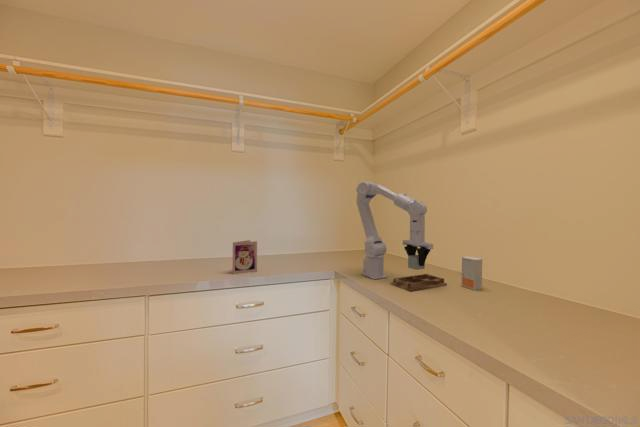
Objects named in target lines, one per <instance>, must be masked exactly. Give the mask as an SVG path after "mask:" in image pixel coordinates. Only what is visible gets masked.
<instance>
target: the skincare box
mask: <svg viewBox="0 0 640 427" xmlns="http://www.w3.org/2000/svg"><path fill="white" fill-rule="evenodd" d="M460 284H461V287H464V288H467V289H470V290H472V291H478V290H482V289H483V288H482V287H483V286H482V285H483V258H479V257H474V256H469V255H468V256H462V257H461V283H460Z"/></svg>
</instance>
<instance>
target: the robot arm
mask: <svg viewBox="0 0 640 427" xmlns="http://www.w3.org/2000/svg"><path fill="white" fill-rule="evenodd" d="M355 190H356V193H357V195H356V205H357V206H356V207H357V210H358V213H359V217H360V220H361V224H362V227H363V230H364V233H365V234H364V235H365V237H366V238H365V240H364V253H365V255H366V256H365V257H364V259H363V264H362V266H363V267H362V268H363V272H362V273H361V275H363V276H365V277H367V278H371V279H373V280H378V279H385V278H388V275H385V274H384V272H385V269H384V264H385V260H384V258H385V254H386V253H387V245H386V244H385V243H384V241H383V239H382V237H381V236H379V234H378V230H377V227H376V224H375V220H374V217H373V214H372V210H371V206H370V202H371V201H372V199H374V198H375V197H376V196H377V195H380V196H383V197H385V198H387V199H389V200H391V201H392V202H393V204H394V206H396V207H398V208H400V209H402V210H403V211H406V212H408V215H409V239H408V240H407V239H403V240H402V245H404V250H405V251H406V255H407V257H408V256H409V255H418V257H419V266H424V264H425V263H426V260H427V257H428V255H429V254H430V252H431V250H434V243H429V242H425V240H426V239H425V238H426V236H425V234H426V233H425V232H426V231H425V230H426V228H425V227H426V225H425V224H426V221H425V219H426V218H425V216H426V213H427V211H428V207H427V205H426V204H425V203H424V202H422V201H417V199H416V198H412V197H410V196H408V194H407V193H401V192H400V193H398V194H397V193H396V192H394V191H392V190H391V189H388V188H387V187H385V186H384V185H382V184H379V183H377V182H370V181H365V180H363V181H361V182H359V184H358V185H357V187H356V189H355ZM416 253H417V254H416ZM425 265H426V264H425Z"/></svg>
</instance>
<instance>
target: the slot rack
mask: <svg viewBox="0 0 640 427" xmlns="http://www.w3.org/2000/svg"><path fill="white" fill-rule="evenodd" d="M390 285H392V286H394V287H397V288H400V289H402V290H404V291H407V292H409V293H412V292H417V291H423V290H429V289H434V288H439V287H444V286H447V285H448V283H447V282H445V278H443V277H439V276H436V275H432V274H429V273H422V274H417V275H410V276H409V275H407V276H402V277H395V278H392V281H391V282H390Z"/></svg>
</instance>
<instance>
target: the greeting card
mask: <svg viewBox="0 0 640 427" xmlns="http://www.w3.org/2000/svg"><path fill="white" fill-rule="evenodd" d="M249 272H250V273H257V272H258V240H256V241H251V240H250V239H247V240H242V241H241V240H240V241H235V242H232V275H236V274H237V275H238V274H239V273H240V274H246V273H248V274H249ZM240 274H239V275H240Z"/></svg>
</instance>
